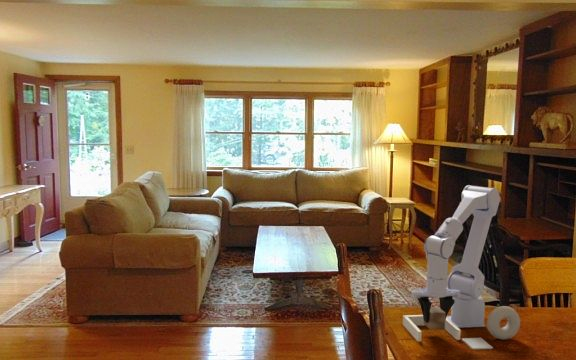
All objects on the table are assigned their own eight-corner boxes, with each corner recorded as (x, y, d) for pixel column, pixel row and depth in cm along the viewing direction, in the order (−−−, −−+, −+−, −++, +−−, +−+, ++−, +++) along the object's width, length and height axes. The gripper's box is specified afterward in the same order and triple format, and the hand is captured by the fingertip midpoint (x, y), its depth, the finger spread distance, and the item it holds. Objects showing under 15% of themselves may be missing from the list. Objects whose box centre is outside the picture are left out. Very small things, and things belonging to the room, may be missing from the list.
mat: (480, 339, 132) (480, 337, 132) (492, 348, 127) (492, 347, 126) (461, 339, 132) (461, 338, 132) (472, 349, 126) (472, 348, 126)
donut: (514, 335, 135) (516, 303, 134) (521, 340, 132) (524, 308, 131) (483, 337, 134) (485, 304, 133) (490, 342, 130) (492, 309, 129)
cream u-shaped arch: (441, 323, 143) (442, 314, 143) (460, 339, 132) (460, 330, 131) (402, 324, 141) (403, 315, 141) (417, 341, 130) (418, 331, 130)
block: (437, 322, 137) (438, 306, 136) (444, 329, 132) (445, 312, 132) (423, 323, 136) (424, 307, 135) (430, 329, 131) (431, 313, 131)
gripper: (453, 271, 137) (450, 314, 139) (407, 272, 135) (405, 316, 137) (465, 279, 130) (462, 324, 132) (417, 280, 128) (415, 326, 130)
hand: (434, 320), depth 134 cm, fingers closed on block, 4 cm apart
